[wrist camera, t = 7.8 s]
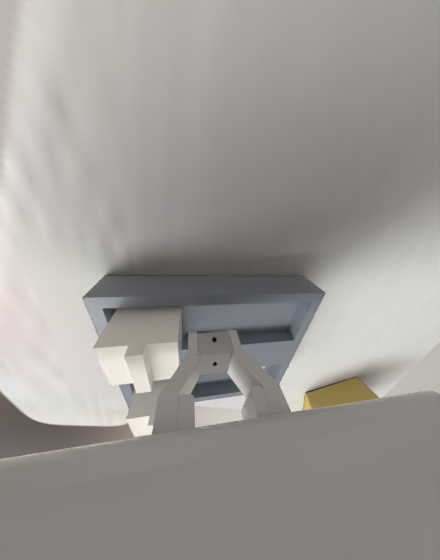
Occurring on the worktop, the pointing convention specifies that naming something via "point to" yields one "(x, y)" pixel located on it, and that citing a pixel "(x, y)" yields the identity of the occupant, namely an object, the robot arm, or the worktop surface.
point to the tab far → (144, 409)
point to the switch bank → (219, 316)
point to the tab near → (141, 346)
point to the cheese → (338, 394)
